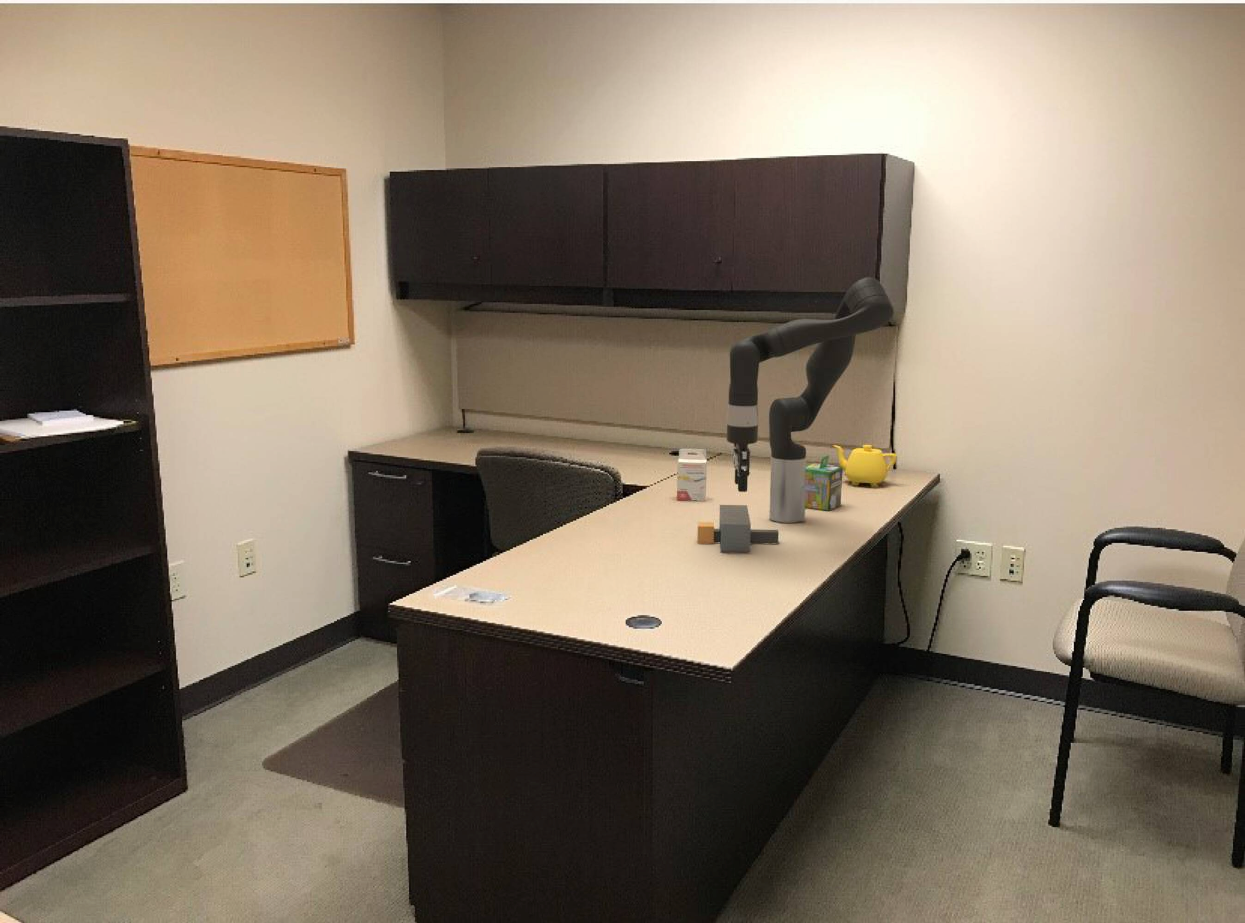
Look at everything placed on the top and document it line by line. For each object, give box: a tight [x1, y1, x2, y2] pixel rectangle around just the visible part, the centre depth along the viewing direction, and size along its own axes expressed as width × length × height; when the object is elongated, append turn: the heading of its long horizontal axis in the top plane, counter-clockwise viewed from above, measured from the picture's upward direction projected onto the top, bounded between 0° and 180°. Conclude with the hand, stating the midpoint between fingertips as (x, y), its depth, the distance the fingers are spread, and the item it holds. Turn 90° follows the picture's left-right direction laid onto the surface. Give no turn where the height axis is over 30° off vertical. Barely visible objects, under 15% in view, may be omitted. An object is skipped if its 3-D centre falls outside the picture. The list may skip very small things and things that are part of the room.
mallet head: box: [718, 504, 752, 553], centre depth 254 cm, size 7×20×7 cm, turn 176°
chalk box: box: [805, 454, 844, 512], centre depth 291 cm, size 9×9×15 cm
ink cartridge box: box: [676, 448, 708, 502], centre depth 300 cm, size 9×5×15 cm, turn 84°
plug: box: [697, 521, 780, 544], centre depth 255 cm, size 20×4×4 cm, turn 86°
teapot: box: [833, 444, 898, 488], centre depth 321 cm, size 13×20×12 cm
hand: (740, 487), depth 252 cm, fingers open, 8 cm apart
